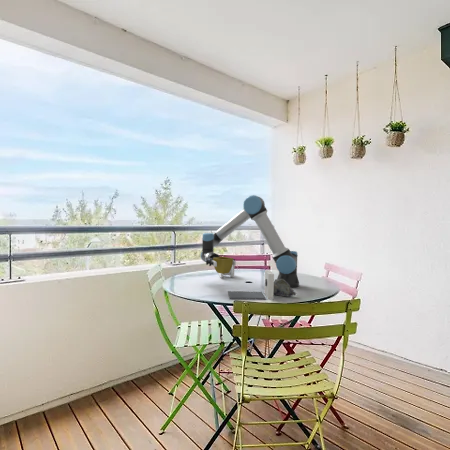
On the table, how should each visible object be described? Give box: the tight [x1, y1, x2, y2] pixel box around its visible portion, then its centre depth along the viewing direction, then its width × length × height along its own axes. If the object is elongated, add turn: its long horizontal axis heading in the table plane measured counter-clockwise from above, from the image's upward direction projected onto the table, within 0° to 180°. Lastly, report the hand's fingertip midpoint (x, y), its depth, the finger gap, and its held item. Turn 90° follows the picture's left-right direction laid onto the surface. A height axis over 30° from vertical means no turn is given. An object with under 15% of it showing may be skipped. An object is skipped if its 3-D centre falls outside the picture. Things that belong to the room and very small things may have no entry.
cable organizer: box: [217, 265, 235, 279], centre depth 245 cm, size 15×11×12 cm
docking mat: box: [227, 290, 267, 301], centre depth 191 cm, size 20×14×1 cm
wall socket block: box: [263, 269, 275, 300], centre depth 191 cm, size 4×12×14 cm, turn 3°
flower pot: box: [213, 256, 234, 274], centre depth 197 cm, size 9×9×9 cm
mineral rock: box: [273, 278, 297, 297], centre depth 193 cm, size 13×11×10 cm
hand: (225, 263), depth 193 cm, fingers closed on flower pot, 11 cm apart
